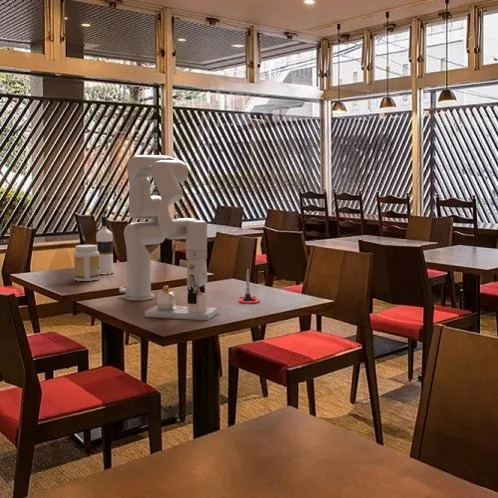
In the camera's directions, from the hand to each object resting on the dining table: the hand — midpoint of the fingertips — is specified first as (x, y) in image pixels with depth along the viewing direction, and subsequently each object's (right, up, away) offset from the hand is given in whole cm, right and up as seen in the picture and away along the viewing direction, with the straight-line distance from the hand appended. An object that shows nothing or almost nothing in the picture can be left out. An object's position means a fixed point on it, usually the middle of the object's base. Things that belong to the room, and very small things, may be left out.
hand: (196, 301), depth 230 cm
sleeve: (0, -3, 0) cm, 3 cm away
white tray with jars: (-6, -5, +2) cm, 8 cm away
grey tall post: (+19, -3, +26) cm, 33 cm away
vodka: (-56, +6, +99) cm, 114 cm away
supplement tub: (-60, +3, +78) cm, 99 cm away
